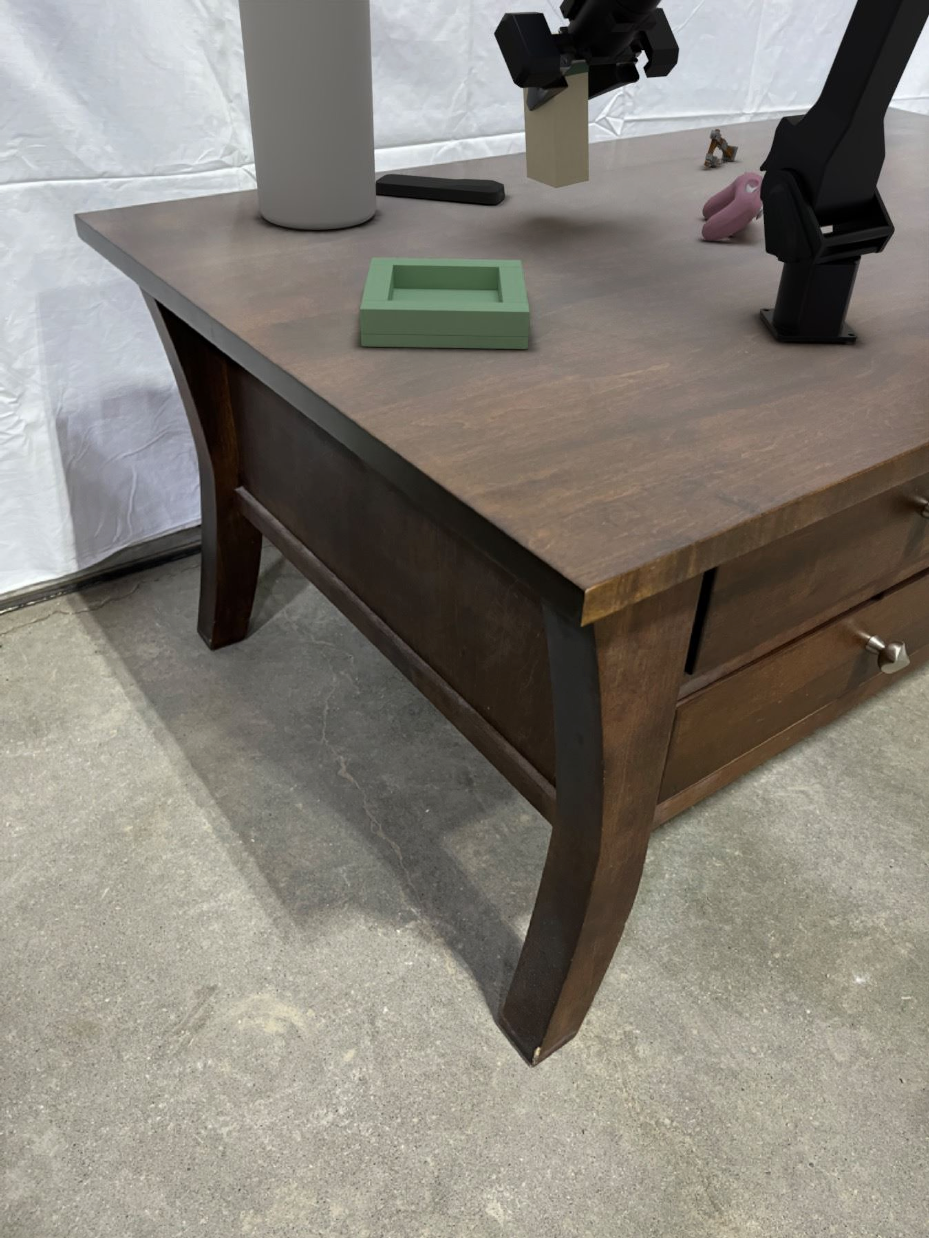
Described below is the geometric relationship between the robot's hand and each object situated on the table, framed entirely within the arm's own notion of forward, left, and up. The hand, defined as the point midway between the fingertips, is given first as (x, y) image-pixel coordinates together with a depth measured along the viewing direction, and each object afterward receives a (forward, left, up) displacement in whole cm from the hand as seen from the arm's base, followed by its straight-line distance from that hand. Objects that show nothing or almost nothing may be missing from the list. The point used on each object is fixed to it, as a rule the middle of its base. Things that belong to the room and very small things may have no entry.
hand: (549, 105), depth 101 cm
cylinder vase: (0, +24, -11) cm, 27 cm away
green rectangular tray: (-31, +10, -11) cm, 35 cm away
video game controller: (-3, -20, -11) cm, 23 cm away
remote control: (+10, +11, -11) cm, 19 cm away
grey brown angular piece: (+29, -26, -11) cm, 40 cm away
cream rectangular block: (-1, -1, -7) cm, 7 cm away
